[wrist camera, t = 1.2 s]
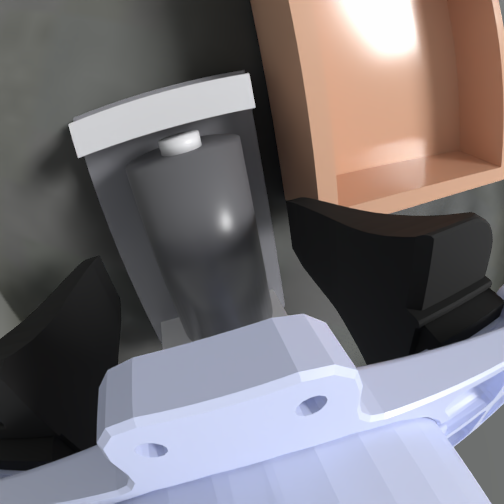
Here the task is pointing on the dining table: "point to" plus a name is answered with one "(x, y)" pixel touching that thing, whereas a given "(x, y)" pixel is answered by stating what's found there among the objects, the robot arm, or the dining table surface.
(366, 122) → the bin
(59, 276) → the dining table surface
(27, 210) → the dining table surface
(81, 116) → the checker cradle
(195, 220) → the cell
